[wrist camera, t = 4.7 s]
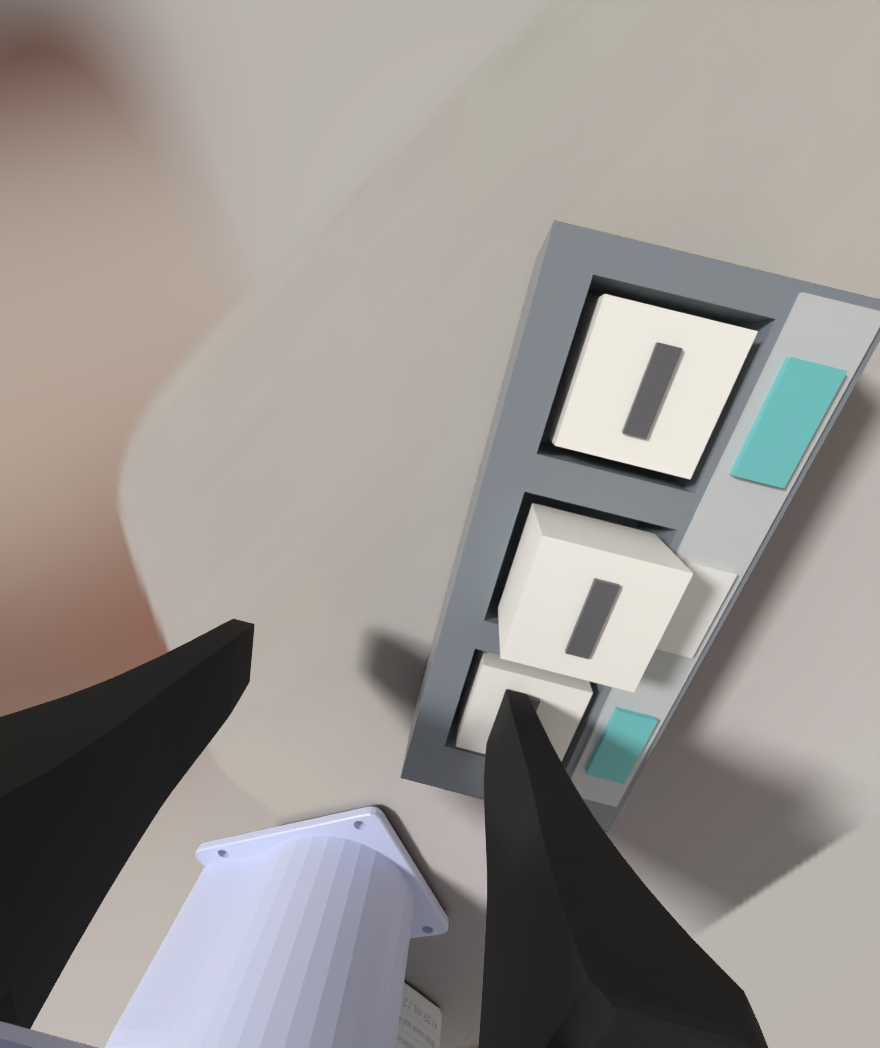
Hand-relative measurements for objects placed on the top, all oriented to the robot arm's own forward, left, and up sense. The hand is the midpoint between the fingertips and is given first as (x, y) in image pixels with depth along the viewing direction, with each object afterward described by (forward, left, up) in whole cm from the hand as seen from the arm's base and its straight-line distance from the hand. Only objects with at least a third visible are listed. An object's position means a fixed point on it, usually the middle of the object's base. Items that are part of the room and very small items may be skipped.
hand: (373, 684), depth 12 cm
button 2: (+9, +5, -2) cm, 10 cm away
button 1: (+3, -3, -2) cm, 5 cm away
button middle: (+6, +1, 0) cm, 6 cm away
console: (+6, 0, -3) cm, 7 cm away
